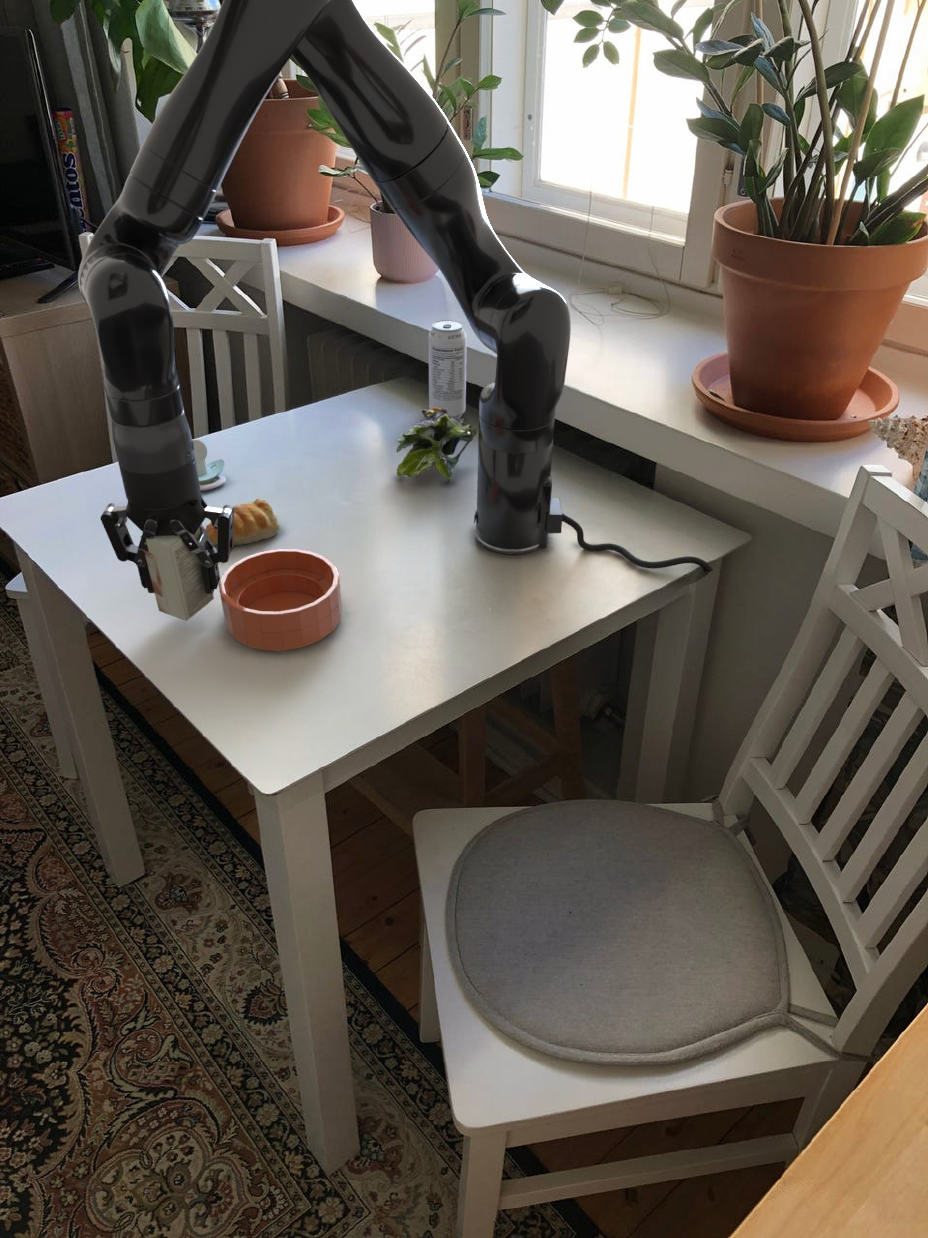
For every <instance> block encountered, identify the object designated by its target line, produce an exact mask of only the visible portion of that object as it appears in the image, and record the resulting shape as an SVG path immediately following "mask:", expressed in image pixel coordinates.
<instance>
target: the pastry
mask: <svg viewBox="0 0 928 1238" xmlns="http://www.w3.org/2000/svg"><path fill="white" fill-rule="evenodd" d="M232 507H233V508H234V527H233V546H243V545H249V544H253V543H256V542H260V541H261V540H263V539H265V540H267V539H270V538H272V537H275V535H277V534H278V533H279V530H280V529H281V526H280V522H279V520H278V517H277V515H276V513H275V512H274V510H273V507H272V506H271V504H270V503H269V502H268V501H266V500H265V499H260V498H257V499H255V500H254V501H252V502H247V503H241V504H239V505H238V504H237V505H234V506H232ZM205 530H206V531H207V533H208V537H209V539H210V541H211V542H212V543H213V545H214V546H216V547H217V546H218V529H214V527H213V526H212V522H211V521H210V522H209V524H207V525H206V526H205Z"/></svg>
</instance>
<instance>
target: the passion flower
mask: <svg viewBox="0 0 928 1238" xmlns="http://www.w3.org/2000/svg"><path fill="white" fill-rule="evenodd" d="M447 412H448V409H447V408H443V409H440V408H437V407H434V408H432V410H429V408H427V409H425V408H424V409H422V410H421V413H422V416H423V418H425V419H428V420H425V419H423V421H422V420H421V419H419V422H415V424H411V426H412V428H408V430H407V433H401V437H402V438H403V439H397V440H396V441H397V443H398V446H397V447H396V451H395V452H396V453H397V454H398V453H399V452H400V451H402V449H404V450H405V449H407V448H408V447H411V446H412V447H411V449H409V451H408V452H407V453H406V455H405V456H404V458H403V459H402V461H401V462H400V463H398V466H397V467H396V476H397V477H398V478H399V479H400V478H402V477H404V476H407V477H409V478H413V477H415V476H418V475H420V474H422V473H423V472H424V471H426V470H428V469H429V468H430V467H431V466H433V465H435V467H436V469H437V471H438V472H439V473H440V474H441V475H442V476H444V477H445V478H447V485H449V484H450V481H451V479H452V476H453V472H454V470H455V467H456V466H457V464H458V463H459V459H460V457H461V455H462V454H463V452H464V451H465V449H466V448H467V447H468V445H469V444H470V442H472V441H473V440H474V438H475V436H476V435H477V430H478V428H477V425H475V426H474V427H473V429H472V424H467V423H465V422H464V420H465V419H464V418H461V417H457V418H456V419H455V418H454V417H451V416H450V415H446V413H447ZM439 417H440V418H439ZM438 418H439V419H438ZM460 441H463V442H465V443H464V445H463V446H462V449H461V450H460V451H459V452H458V453H457V454H456V455H455V456H454V457H450V456H452V455H454V454H455V452H456V448H457V446H458V444H459V443H460Z"/></svg>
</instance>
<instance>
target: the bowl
mask: <svg viewBox="0 0 928 1238" xmlns="http://www.w3.org/2000/svg"><path fill="white" fill-rule="evenodd" d="M340 582H341V581H340V574H339V571H338V569H337V566H336V565H335V564H334V563H333V562H332V561H331V560H330V559H328V557H326V556H324V555H320V554H318V553H316V552H314V551H311V550H310V551H309V550H304V549H299V548H279V549H278V548H277V549H270V550H264V551H259V552H256V553H253V554H251V555H247V556H245V557H243V558H241V559H240V560H238V561H236V562H234V563H233V564H232V565H230V566H229V567H228V568H227V569H226V570H225V571H223V573H222V575H221V576H220V581H219V584H218V589H219V595H220V603H221V607H222V613H223V618H224V623H225V624H224V625H225V630H226V631H227V632H228V634H229V635H230V636H231V637H232V638H233V639H234V640H235V641H237V642H239V643H240V644H242V645H244V646H246V647H248V648H252V649H253V648H254V649H257V650H262V651H289V650H294V649H298V648H299V649H300V648H305V647H306V646H309V645H312V644H314V643H317V642H319V641H321V640H323V639H324V638H325V637H326V636H328V635H329V634H331V633H332V632H333V631H334V630H335V628H336V627H337V626H338V625H339V624H340V622H341V618H342V613H343V605H342V594H341V592H342V591H341V583H340Z"/></svg>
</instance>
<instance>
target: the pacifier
mask: <svg viewBox="0 0 928 1238" xmlns="http://www.w3.org/2000/svg"><path fill="white" fill-rule="evenodd" d="M192 440H193V443H194V455H195V461H196V467H197V473H198V478H199V484H200V490H201V492H202V491H208V490H212V489H216V488H218V487H221V486H222V485H223V484H225V482H226V480H227V479H226V477H225V476H224V475H221V473H222V472H223V471H224V469H225V466H226V462H225V460H224V459H217V460H213V461H212V462H209V463H208V464H207V461H206V459H207V456H208V447H207V445H206V444H205V442H204V441H202V440H200V439H196V438H195V439H192ZM215 480H216V481H215Z"/></svg>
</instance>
